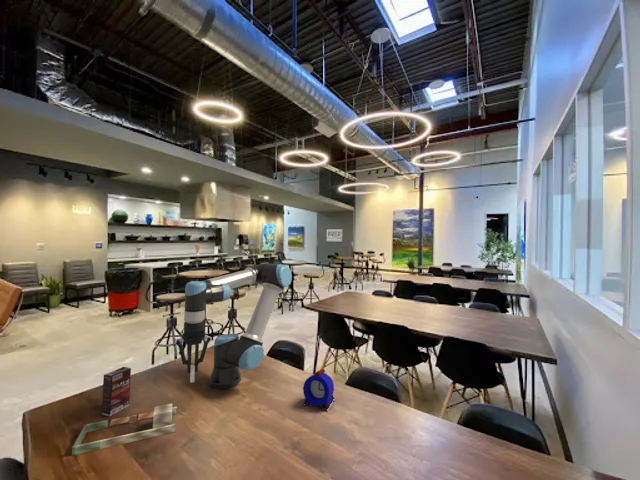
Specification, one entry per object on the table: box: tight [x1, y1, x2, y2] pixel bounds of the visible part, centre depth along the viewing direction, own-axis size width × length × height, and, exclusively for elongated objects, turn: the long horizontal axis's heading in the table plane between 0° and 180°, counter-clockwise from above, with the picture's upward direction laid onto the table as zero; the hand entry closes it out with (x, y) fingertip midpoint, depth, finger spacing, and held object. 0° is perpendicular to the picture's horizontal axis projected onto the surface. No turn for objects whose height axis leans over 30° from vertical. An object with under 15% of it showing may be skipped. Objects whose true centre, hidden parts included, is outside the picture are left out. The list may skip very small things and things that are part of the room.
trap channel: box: [71, 406, 178, 456], centre depth 106 cm, size 30×17×2 cm, turn 115°
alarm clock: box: [302, 368, 335, 411], centre depth 127 cm, size 12×12×15 cm
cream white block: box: [152, 403, 173, 429], centre depth 108 cm, size 6×6×6 cm
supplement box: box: [101, 366, 132, 417], centre depth 117 cm, size 9×5×16 cm, turn 163°
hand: (192, 380), depth 113 cm, fingers closed
